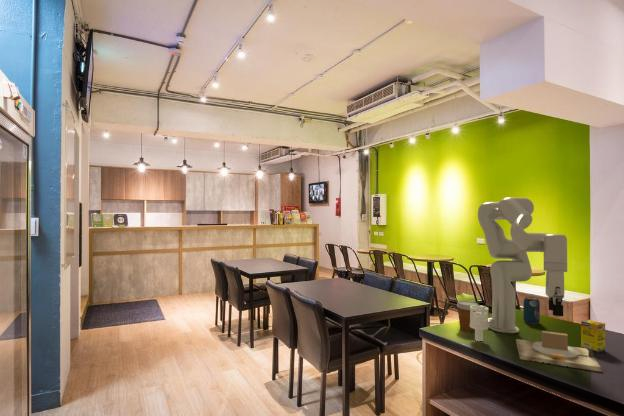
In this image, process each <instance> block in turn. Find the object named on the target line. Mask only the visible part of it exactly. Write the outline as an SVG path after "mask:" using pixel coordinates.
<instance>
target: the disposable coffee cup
mask: <svg viewBox="0 0 624 416" xmlns="http://www.w3.org/2000/svg"><path fill="white" fill-rule="evenodd" d="M473 305H477V306H479V304H478V302H474V301H469V300H468V301H467V300H460V301H459V300H458V302H457V304H456V307H457V311H458V322H459V329H460V330H462V331H464V332H475V329H473V328H471V327H470V306H473ZM476 309H479V308H476ZM473 312H476V311H473Z"/></svg>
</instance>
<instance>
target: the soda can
mask: <svg viewBox="0 0 624 416" xmlns="http://www.w3.org/2000/svg"><path fill="white" fill-rule="evenodd" d="M540 303H541V302H540V300H539V298H538V297H533V296H525V297H524V299H523V307H522V308H523V309H522V310H523V311H522V312H523V315H522V316H523V317H522V319H523V321H524V323H527V324H531V325H538V324H539V322H540V320H541V319H540V318H541V317H540V309H541V307H540V306H541V304H540Z"/></svg>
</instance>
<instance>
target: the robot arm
mask: <svg viewBox="0 0 624 416" xmlns="http://www.w3.org/2000/svg"><path fill="white" fill-rule="evenodd" d="M534 208H535V206H534V203H533V202H532V200H531V199H529V198H527V197H513V196H511V197H505V198H502V199H501V200H500V201H487V202H484V203H482V204H480V205H479V207H478V209H477V219H478V223H479V225H480V227H481V229H482V231H483V234H484V238H485V242H486V245H487V248H488V249H487V250H488V252H489V255H490V257H491V258H493V259H499V260H496V261H493V262H492V263H491V264H490V268H489V269H490V272H489V273H490V277H491V286H492V288H491V290H492V292H491V293H492V294H491V295H492V298H491V299H492V303H491V306H492V307H491V308H492V309H491V310H492V311H491V312H492V313H491V316H490V317H488V329H490V330H492V331H493V332H498V333H504V334H517V333H519V332H520V328H519V327H517V326H516V300H517V299H516V296H517V295H516V294H517V293H516V290H515V288H514V286H513V284H512V283H511V282H527V281H529V280H531V279H532V276H533V271H532V267H531V266H532V265H531V261H530V259H529V258H530V257H529V256H528V253H543V271H545V272H546V274H545V296H546V297H547V298H548V310H549V311H552V315H553V316H555V317H563V316H564V302H563V299H565V273H567V272H568V237H567V236H566V235H564V234H559V233H555V234H554V233H548V232H527V231H525V230H526V229H527V228H529V227H530V226H531V225H532V223H533V216H532V214H533V212H534V210H535V209H534ZM496 220H499V221H501V220H502V221H505V220H506V221H507V222H508V223H509V224H510V225H511V226H510V229H509V231H510V232H509V233H510V238H507V237H506V235H505V231H504V229H503V227H502V226H501V225H500V224H499V223H498V222H497V221H496Z"/></svg>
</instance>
